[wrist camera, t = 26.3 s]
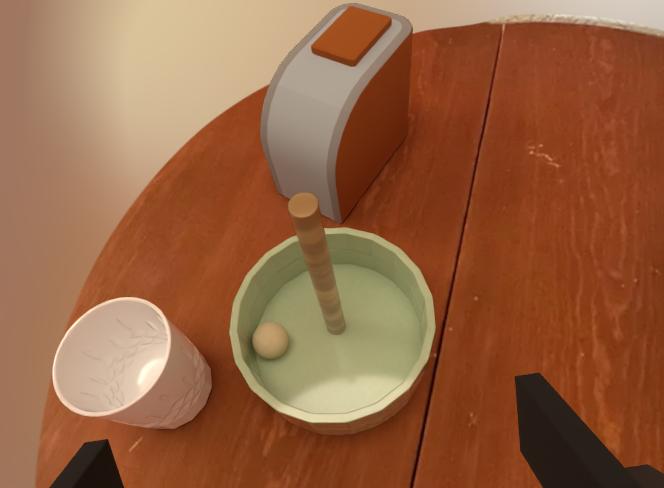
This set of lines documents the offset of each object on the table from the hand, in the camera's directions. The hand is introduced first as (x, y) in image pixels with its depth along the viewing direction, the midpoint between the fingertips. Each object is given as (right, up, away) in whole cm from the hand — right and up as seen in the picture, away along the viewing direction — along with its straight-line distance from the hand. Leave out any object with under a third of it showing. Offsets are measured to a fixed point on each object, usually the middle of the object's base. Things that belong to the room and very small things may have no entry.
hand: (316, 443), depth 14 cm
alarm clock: (+2, +16, +34) cm, 38 cm away
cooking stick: (+1, -1, +24) cm, 24 cm away
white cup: (-13, -6, +24) cm, 27 cm away
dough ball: (-5, -2, +22) cm, 23 cm away
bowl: (+1, -2, +24) cm, 24 cm away
